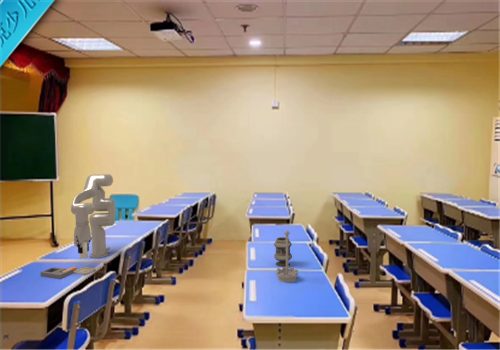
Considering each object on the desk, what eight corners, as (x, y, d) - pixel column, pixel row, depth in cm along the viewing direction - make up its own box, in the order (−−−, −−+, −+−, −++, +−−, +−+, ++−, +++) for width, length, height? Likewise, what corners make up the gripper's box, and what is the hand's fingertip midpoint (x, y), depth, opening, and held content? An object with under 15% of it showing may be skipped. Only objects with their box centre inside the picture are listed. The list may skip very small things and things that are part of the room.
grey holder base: (54, 271, 243) (53, 267, 243) (73, 274, 238) (73, 269, 237) (40, 276, 233) (40, 272, 233) (60, 279, 228) (60, 275, 228)
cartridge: (84, 255, 243) (83, 238, 242) (89, 256, 241) (88, 239, 240) (78, 258, 239) (77, 240, 238) (83, 258, 237) (82, 241, 236)
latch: (73, 270, 244) (73, 266, 244) (76, 270, 243) (76, 267, 243) (61, 275, 235) (60, 271, 234) (64, 275, 234) (64, 272, 233)
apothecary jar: (270, 263, 256) (270, 237, 254) (286, 260, 261) (286, 235, 259) (279, 268, 245) (279, 241, 243) (295, 265, 250) (295, 239, 248)
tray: (84, 269, 247) (84, 266, 247) (95, 270, 244) (95, 268, 244) (73, 273, 239) (73, 271, 238) (85, 275, 235) (84, 273, 235)
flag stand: (297, 283, 219) (297, 233, 216) (274, 282, 222) (274, 232, 219) (298, 275, 232) (298, 228, 229) (277, 274, 234) (277, 227, 232)
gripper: (87, 221, 248) (88, 248, 249) (67, 226, 232) (68, 255, 233) (96, 221, 245) (97, 249, 247) (76, 227, 229) (78, 256, 231)
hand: (83, 251), depth 240 cm, fingers closed on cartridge, 4 cm apart
